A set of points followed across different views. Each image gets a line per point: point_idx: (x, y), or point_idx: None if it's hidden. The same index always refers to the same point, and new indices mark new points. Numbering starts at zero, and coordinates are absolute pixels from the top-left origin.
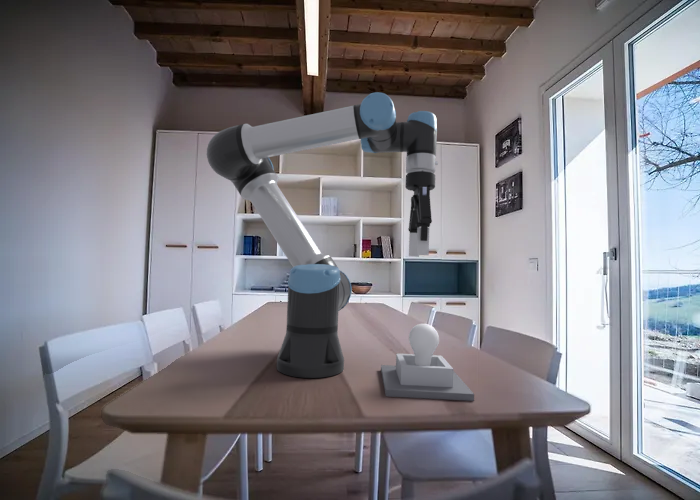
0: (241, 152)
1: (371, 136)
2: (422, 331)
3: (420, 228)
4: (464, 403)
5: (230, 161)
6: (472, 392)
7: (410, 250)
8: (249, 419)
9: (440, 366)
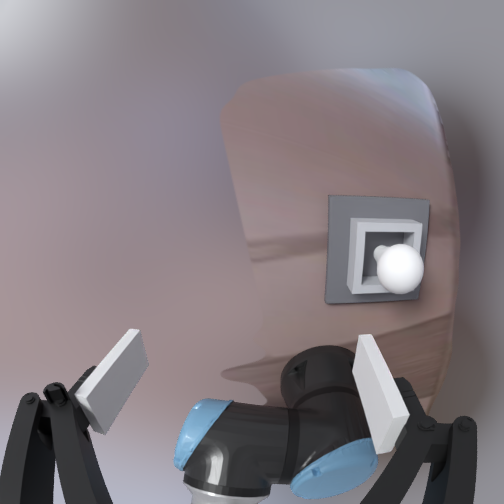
0: None
1: None
2: (421, 279)
3: (393, 440)
4: (432, 213)
5: None
6: (425, 200)
7: (137, 375)
8: (439, 381)
9: (414, 239)
